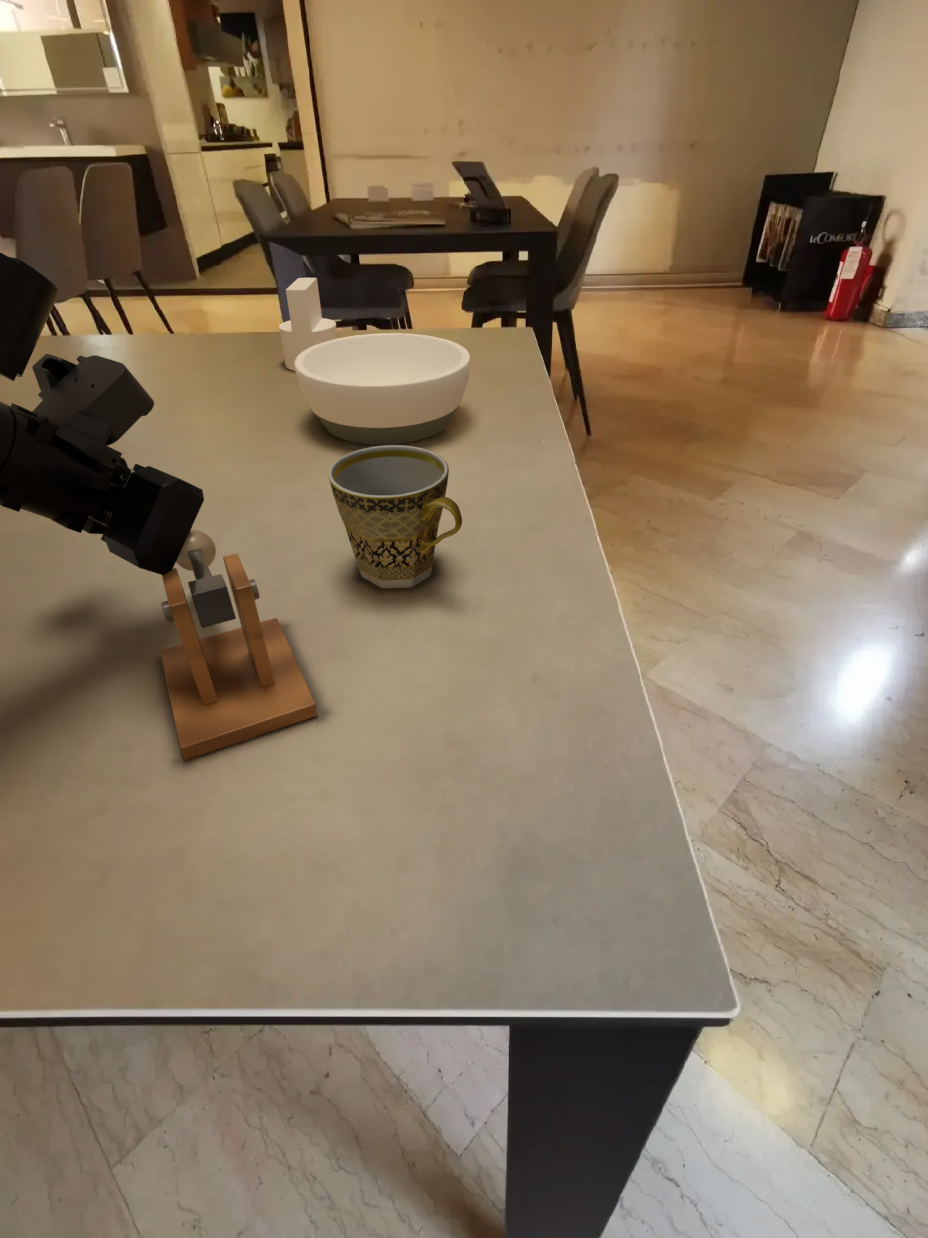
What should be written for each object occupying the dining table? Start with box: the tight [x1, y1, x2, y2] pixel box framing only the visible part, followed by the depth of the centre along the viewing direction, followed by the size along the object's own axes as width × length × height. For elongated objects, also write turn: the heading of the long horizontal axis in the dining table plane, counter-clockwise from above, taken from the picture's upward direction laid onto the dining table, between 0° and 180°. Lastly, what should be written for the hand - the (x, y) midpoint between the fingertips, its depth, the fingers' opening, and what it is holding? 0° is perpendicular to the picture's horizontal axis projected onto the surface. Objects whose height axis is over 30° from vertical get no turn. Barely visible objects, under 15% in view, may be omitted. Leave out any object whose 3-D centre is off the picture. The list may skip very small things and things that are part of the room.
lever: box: [175, 529, 237, 629], centre depth 50 cm, size 16×3×3 cm, turn 26°
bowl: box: [294, 332, 471, 446], centre depth 88 cm, size 22×22×8 cm
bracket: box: [159, 553, 319, 761], centre depth 46 cm, size 11×9×10 cm
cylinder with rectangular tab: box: [278, 277, 339, 372], centre depth 107 cm, size 9×9×12 cm
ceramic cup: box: [328, 444, 463, 589], centre depth 58 cm, size 13×10×10 cm
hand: (187, 529), depth 54 cm, fingers closed, pressing on lever
